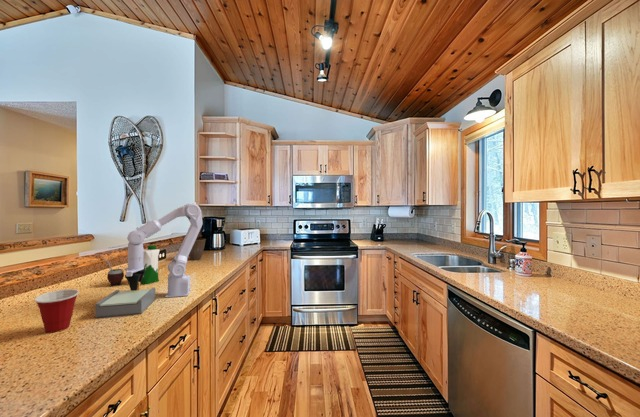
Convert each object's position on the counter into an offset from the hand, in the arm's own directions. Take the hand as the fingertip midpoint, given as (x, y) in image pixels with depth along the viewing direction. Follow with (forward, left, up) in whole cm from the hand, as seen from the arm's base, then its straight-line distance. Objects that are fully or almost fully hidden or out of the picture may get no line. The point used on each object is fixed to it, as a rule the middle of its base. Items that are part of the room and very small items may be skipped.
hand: (135, 288), depth 116 cm
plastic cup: (+15, +23, -6) cm, 28 cm away
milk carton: (+5, -33, -6) cm, 34 cm away
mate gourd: (+20, -31, -6) cm, 37 cm away
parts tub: (0, +8, -6) cm, 10 cm away
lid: (0, +8, -1) cm, 8 cm away
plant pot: (-9, -96, -6) cm, 96 cm away
